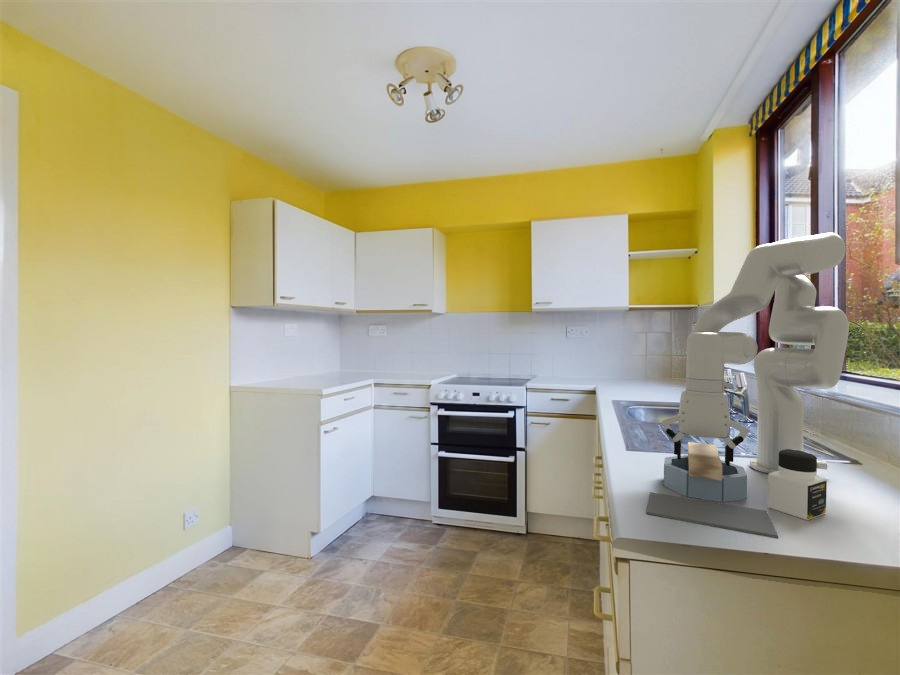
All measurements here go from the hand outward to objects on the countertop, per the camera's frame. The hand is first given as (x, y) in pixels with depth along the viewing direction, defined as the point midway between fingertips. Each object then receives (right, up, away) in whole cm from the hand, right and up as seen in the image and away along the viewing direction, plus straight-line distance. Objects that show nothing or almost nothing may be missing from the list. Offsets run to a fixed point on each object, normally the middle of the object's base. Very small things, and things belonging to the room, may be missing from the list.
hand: (702, 461), depth 101 cm
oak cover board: (0, -1, 0) cm, 1 cm away
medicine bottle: (+12, -7, -13) cm, 18 cm away
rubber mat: (-7, -6, -14) cm, 17 cm away
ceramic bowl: (0, -6, 0) cm, 6 cm away
